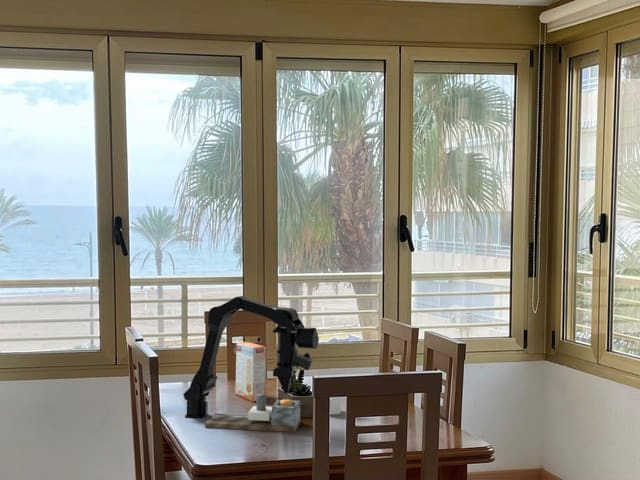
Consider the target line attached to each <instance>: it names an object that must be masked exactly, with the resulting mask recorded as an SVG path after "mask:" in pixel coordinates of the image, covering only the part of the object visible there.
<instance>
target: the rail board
mask: <svg viewBox="0 0 640 480" xmlns="http://www.w3.org/2000/svg"><path fill="white" fill-rule="evenodd" d="M281 400H282V399H276V400H275V402H274V403H273V405H271V407H272V417H271V419H270V420H269V421H263V420H248V414H234V413H233V414H231V413H214V414H213V415H212V416H210V418H208V419H207V420H206V421H205V422H204V423H205V424H204V427H205V428H209V429H210V428H211V429H227V430H229V429H231V430H249V431H271V432H287V433H288V432H291V433H296V431H297V429H298V427H299V425H300V423H301V400H292V399H291V400H292V406H280V401H281Z"/></svg>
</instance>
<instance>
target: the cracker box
mask: <svg viewBox="0 0 640 480" xmlns="http://www.w3.org/2000/svg"><path fill="white" fill-rule="evenodd" d="M235 346H236V351H235V352H236V353H235V354H236V355H235V356H236V358H235V394H234V395H235V396H237V397H240V398H242V399H244V400H247V401H250V402H257V394H266V371H267V370H266V367H267V366H266V365H267V364H266V362H267V346H264V345H260V344H257V343H254V342H249V341H243V342H241V341H240V342H236V345H235Z"/></svg>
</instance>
